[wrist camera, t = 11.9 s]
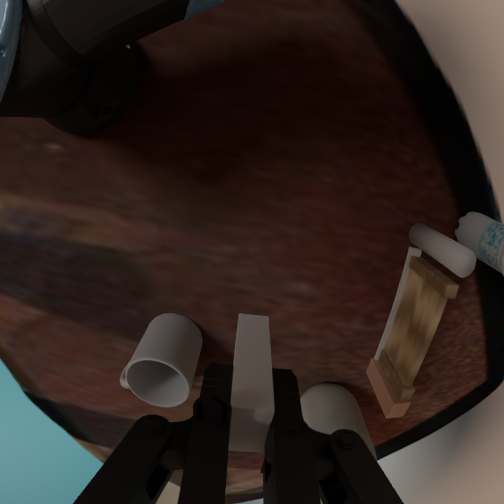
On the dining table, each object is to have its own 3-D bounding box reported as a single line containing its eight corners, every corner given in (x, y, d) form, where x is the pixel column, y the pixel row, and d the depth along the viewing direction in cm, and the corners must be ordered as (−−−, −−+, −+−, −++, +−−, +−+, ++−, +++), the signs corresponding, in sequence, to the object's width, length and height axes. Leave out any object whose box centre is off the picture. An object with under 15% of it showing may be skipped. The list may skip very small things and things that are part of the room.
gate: (411, 255, 39) (448, 285, 30) (421, 257, 39) (458, 286, 30) (378, 359, 45) (399, 401, 35) (387, 359, 45) (410, 400, 35)
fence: (411, 221, 39) (459, 248, 27) (429, 224, 39) (479, 251, 27) (365, 372, 47) (387, 423, 35) (381, 371, 47) (405, 421, 36)
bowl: (189, 480, 59) (183, 512, 49) (125, 460, 57) (114, 491, 48) (203, 450, 54) (198, 488, 44) (129, 426, 52) (115, 462, 43)
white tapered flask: (362, 381, 48) (413, 521, 21) (326, 417, 50) (354, 551, 24) (316, 363, 46) (354, 525, 19) (281, 403, 49) (293, 552, 22)
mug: (183, 303, 43) (164, 349, 32) (213, 348, 45) (203, 399, 35) (121, 330, 45) (93, 374, 34) (151, 370, 47) (132, 417, 37)
